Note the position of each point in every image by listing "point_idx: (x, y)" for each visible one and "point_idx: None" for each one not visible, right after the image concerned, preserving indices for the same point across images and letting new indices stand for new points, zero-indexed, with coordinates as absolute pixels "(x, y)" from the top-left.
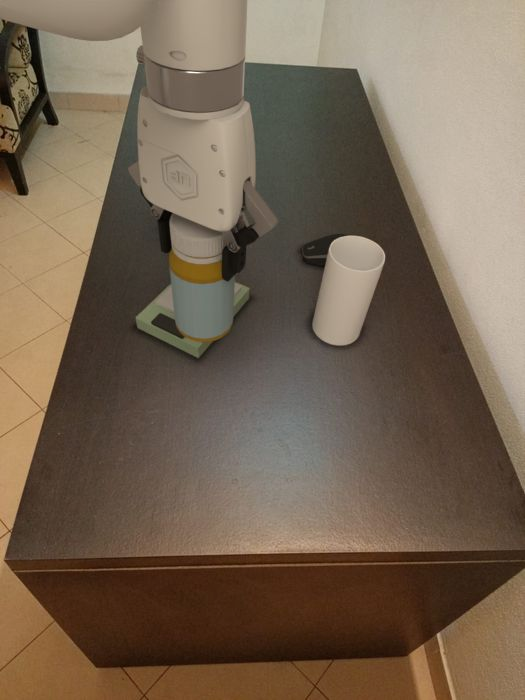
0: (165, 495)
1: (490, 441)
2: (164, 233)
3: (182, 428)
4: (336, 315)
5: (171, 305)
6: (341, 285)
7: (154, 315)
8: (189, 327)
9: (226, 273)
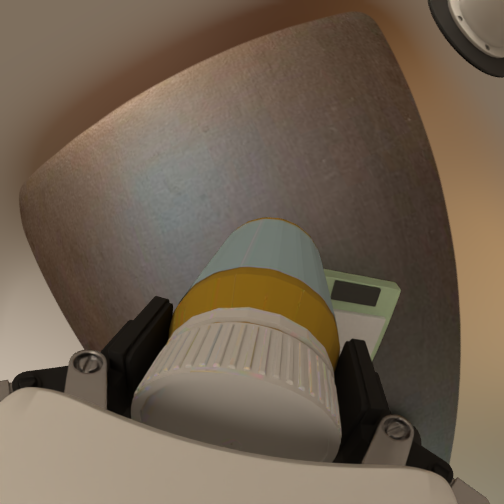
0: (268, 87)
1: (41, 264)
2: (359, 382)
3: (287, 165)
4: None
5: (365, 321)
6: None
7: (380, 301)
8: (272, 224)
9: (146, 307)
